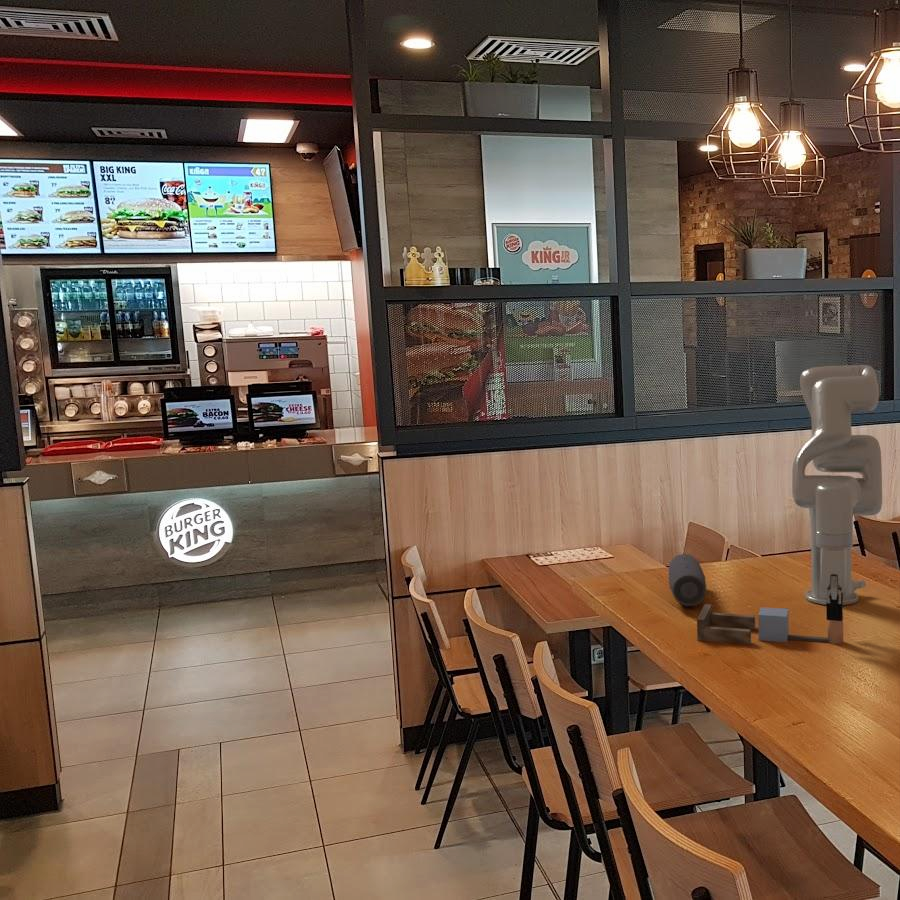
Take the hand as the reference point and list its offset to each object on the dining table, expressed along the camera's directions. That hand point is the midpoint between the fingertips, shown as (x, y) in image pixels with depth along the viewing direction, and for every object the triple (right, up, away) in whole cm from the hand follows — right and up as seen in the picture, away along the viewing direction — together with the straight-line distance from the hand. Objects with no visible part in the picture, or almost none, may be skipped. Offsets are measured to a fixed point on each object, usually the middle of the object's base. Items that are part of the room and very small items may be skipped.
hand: (834, 612), depth 199 cm
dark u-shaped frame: (-21, -7, +9) cm, 23 cm away
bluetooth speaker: (-23, -4, +39) cm, 45 cm away
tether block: (-6, -7, +3) cm, 10 cm away
